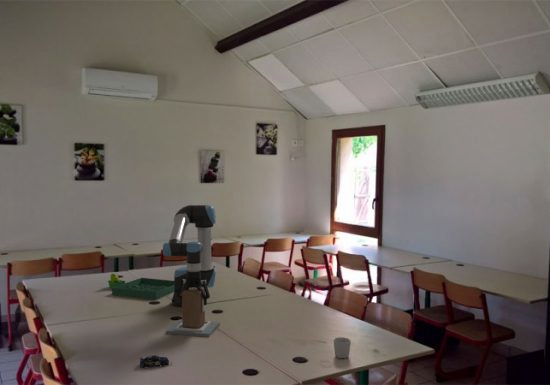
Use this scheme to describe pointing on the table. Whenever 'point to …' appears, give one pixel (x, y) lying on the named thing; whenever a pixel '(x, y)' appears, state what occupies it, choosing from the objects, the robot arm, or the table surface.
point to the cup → (342, 347)
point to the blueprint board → (193, 329)
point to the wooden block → (192, 308)
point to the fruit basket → (115, 281)
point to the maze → (145, 288)
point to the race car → (154, 361)
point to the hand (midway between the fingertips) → (193, 310)
